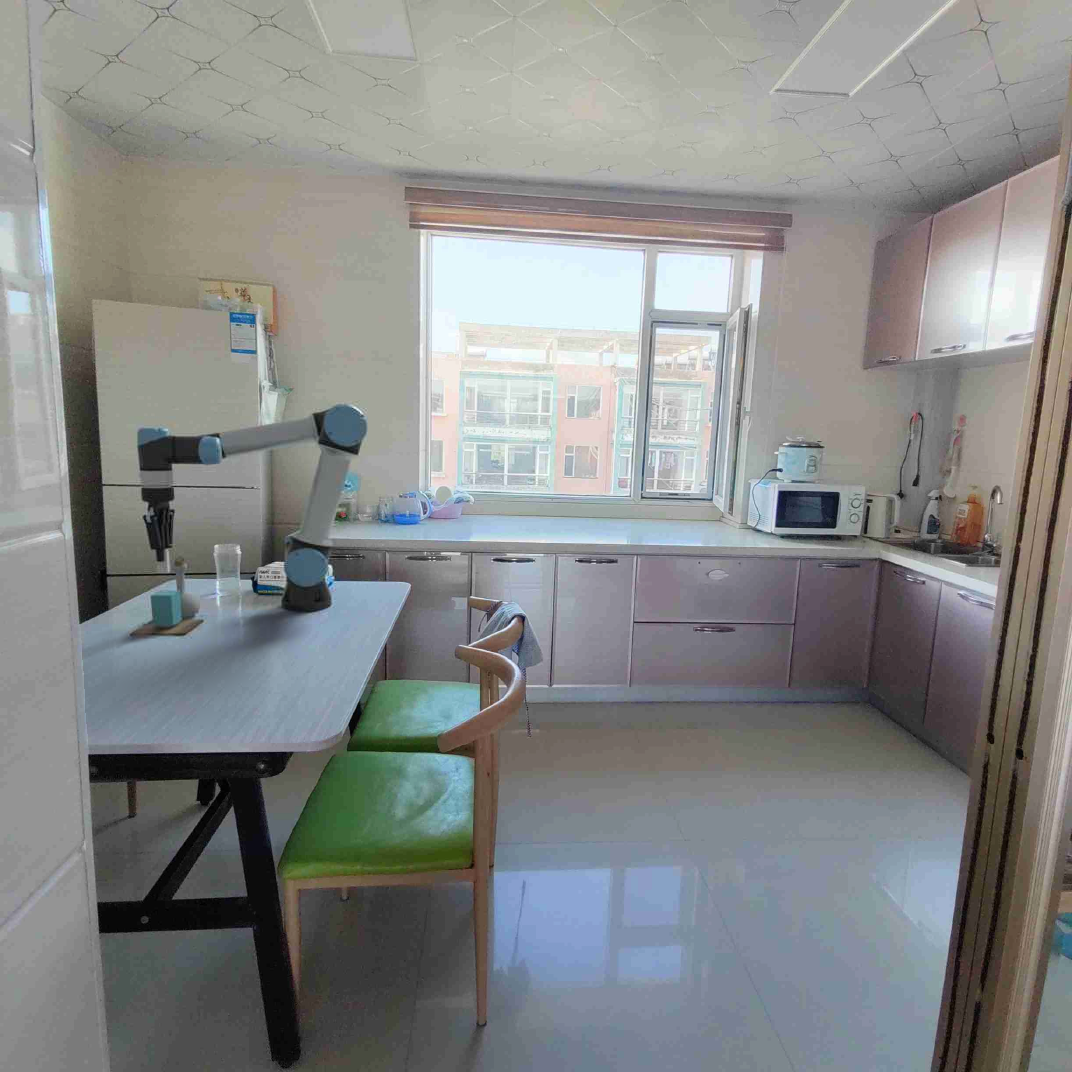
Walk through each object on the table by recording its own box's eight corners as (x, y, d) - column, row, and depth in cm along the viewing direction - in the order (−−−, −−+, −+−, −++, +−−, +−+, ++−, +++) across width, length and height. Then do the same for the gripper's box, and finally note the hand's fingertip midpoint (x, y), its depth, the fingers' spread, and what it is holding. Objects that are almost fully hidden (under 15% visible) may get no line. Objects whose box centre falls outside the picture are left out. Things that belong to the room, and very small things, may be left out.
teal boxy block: (181, 619, 173) (179, 590, 172) (173, 625, 168) (171, 595, 167) (162, 620, 172) (159, 590, 171) (153, 625, 167) (150, 595, 166)
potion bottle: (206, 613, 185) (202, 555, 181) (188, 622, 176) (184, 561, 173) (177, 612, 185) (173, 554, 182) (158, 621, 176) (153, 560, 173)
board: (203, 621, 177) (203, 619, 177) (185, 635, 166) (185, 633, 165) (152, 621, 176) (151, 619, 175) (129, 635, 164) (129, 633, 164)
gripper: (154, 483, 170) (160, 567, 174) (129, 488, 157) (136, 578, 161) (183, 484, 171) (188, 567, 175) (160, 489, 158) (167, 578, 162)
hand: (163, 572), depth 168 cm, fingers closed
